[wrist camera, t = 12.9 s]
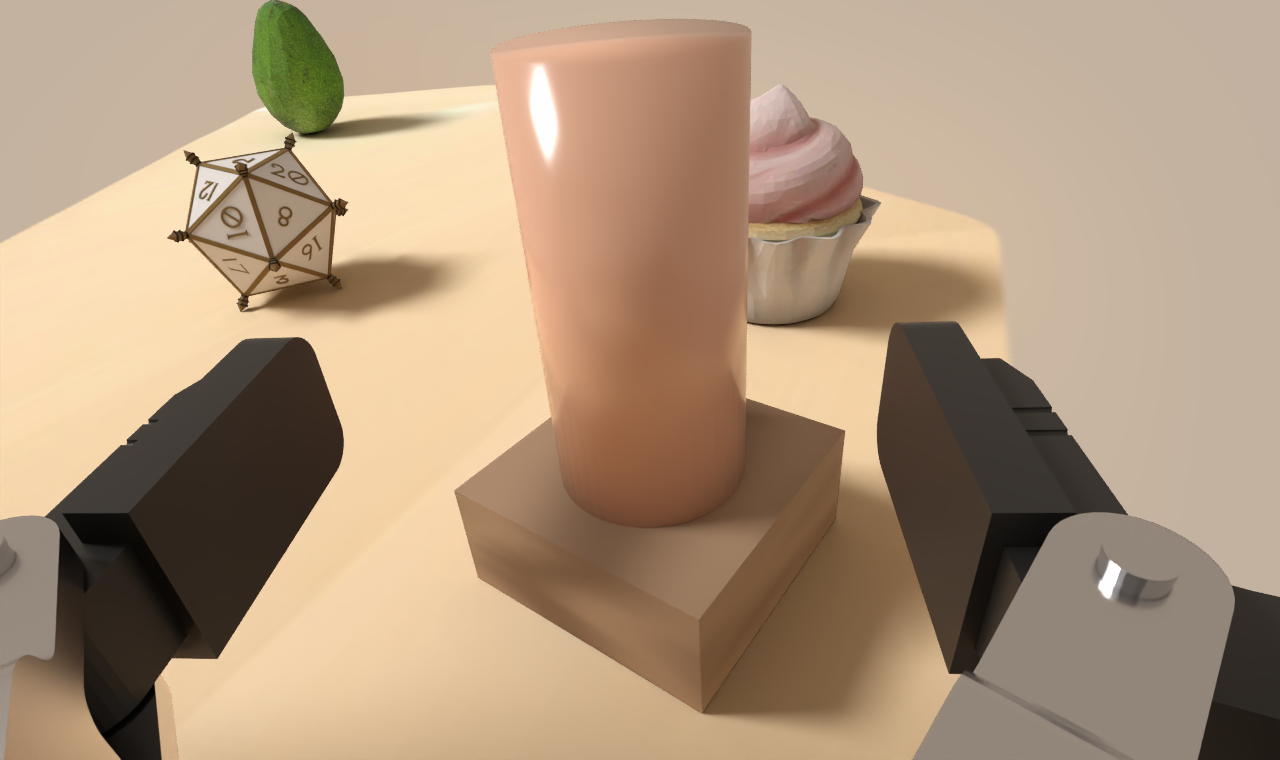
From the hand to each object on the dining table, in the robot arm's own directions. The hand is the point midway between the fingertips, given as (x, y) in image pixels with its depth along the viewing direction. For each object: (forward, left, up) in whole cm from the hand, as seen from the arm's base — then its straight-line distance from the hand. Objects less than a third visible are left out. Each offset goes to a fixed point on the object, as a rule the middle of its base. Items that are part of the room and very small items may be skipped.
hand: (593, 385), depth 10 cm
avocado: (-66, +34, -11) cm, 75 cm away
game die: (-33, +11, -11) cm, 37 cm away
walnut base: (-4, +6, -11) cm, 13 cm away
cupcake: (-9, +23, -11) cm, 28 cm away
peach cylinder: (-4, +6, -8) cm, 11 cm away
